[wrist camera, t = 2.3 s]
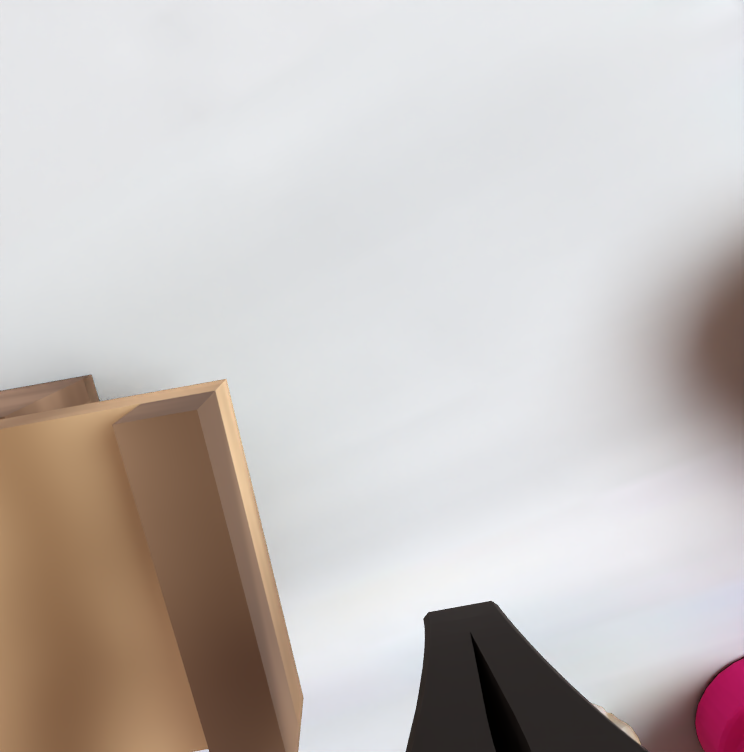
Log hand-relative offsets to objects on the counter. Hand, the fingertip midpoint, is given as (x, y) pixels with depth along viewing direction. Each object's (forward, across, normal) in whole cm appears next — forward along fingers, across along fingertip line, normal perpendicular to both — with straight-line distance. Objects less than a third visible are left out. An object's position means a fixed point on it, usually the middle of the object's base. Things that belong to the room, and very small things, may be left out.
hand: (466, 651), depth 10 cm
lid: (+5, +11, 0) cm, 12 cm away
